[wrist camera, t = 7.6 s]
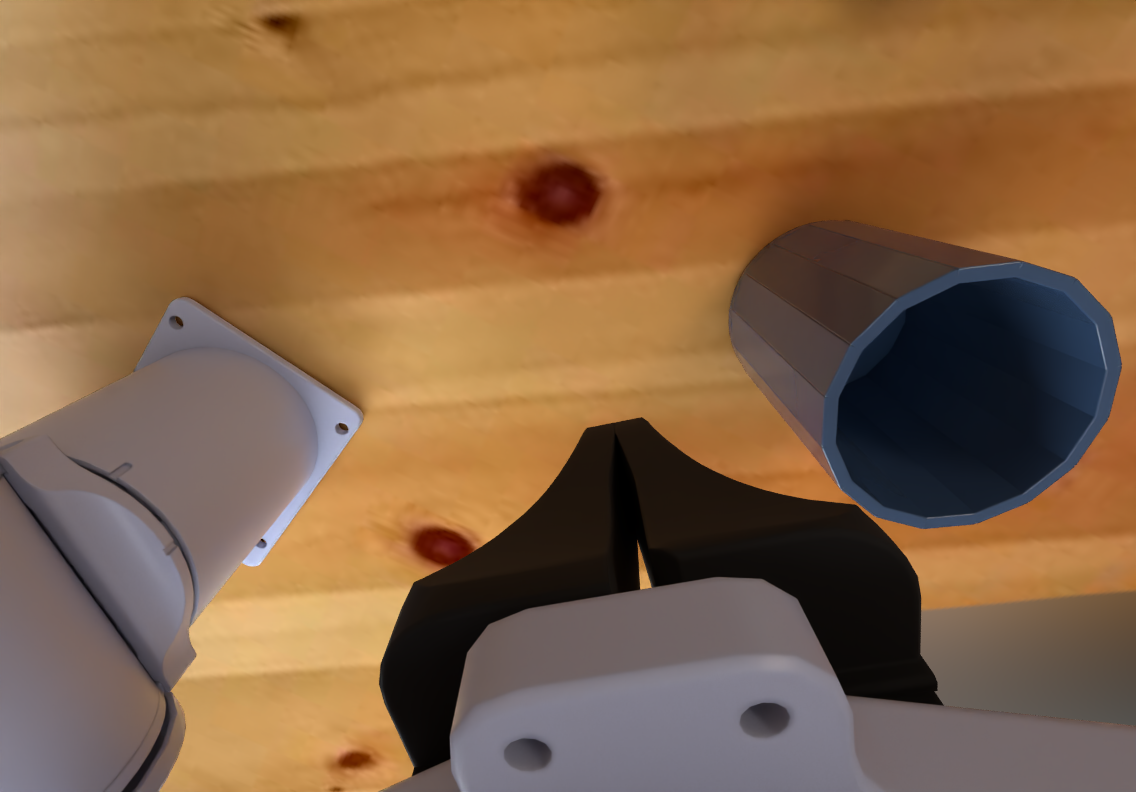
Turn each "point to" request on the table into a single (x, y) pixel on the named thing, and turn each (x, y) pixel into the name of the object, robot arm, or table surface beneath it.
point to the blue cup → (925, 367)
